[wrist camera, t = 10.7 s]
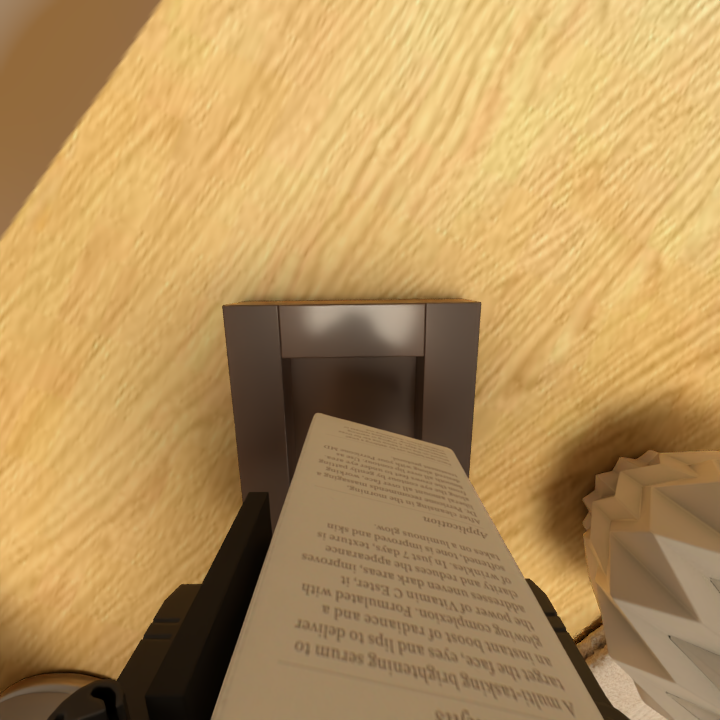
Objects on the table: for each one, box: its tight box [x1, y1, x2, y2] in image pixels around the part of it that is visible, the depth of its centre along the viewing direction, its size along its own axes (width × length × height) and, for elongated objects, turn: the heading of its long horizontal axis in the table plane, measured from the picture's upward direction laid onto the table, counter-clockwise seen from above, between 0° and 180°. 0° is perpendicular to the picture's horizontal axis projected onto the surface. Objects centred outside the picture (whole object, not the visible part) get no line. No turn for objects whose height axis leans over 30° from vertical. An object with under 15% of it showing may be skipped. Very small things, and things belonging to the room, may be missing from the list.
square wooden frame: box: [222, 299, 481, 537], centre depth 22 cm, size 14×16×4 cm
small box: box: [211, 413, 604, 720], centre depth 9 cm, size 8×6×10 cm
